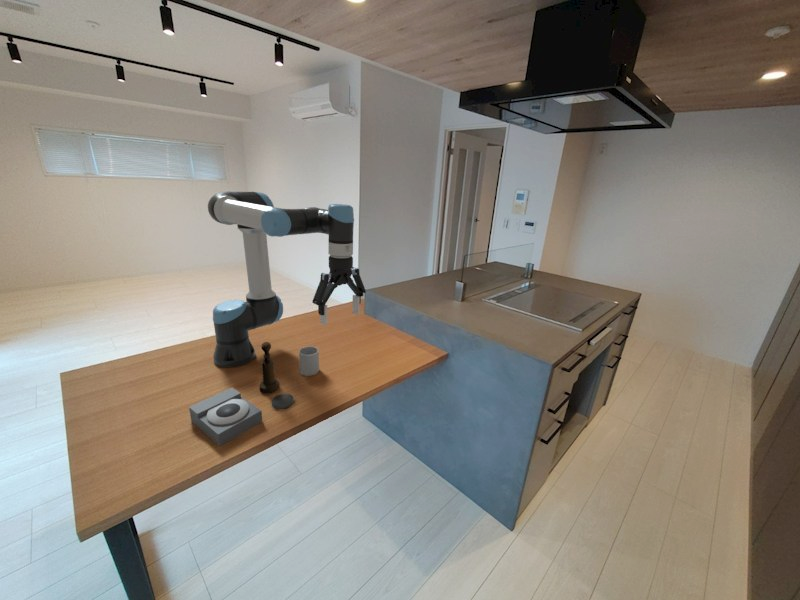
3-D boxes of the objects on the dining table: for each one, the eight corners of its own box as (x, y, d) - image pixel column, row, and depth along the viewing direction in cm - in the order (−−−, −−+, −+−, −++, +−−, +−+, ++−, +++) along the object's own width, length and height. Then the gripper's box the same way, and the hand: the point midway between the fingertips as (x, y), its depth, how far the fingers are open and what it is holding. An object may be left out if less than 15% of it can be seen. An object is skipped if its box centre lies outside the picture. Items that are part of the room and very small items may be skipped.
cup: (304, 378, 125) (303, 357, 122) (293, 366, 132) (292, 346, 129) (322, 372, 129) (321, 352, 126) (310, 361, 136) (310, 342, 133)
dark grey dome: (267, 403, 109) (266, 400, 109) (285, 393, 115) (284, 390, 115) (280, 412, 106) (280, 409, 105) (298, 401, 111) (298, 398, 111)
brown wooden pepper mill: (273, 381, 122) (269, 336, 116) (283, 388, 118) (280, 342, 112) (256, 389, 117) (251, 342, 111) (265, 396, 113) (261, 349, 107)
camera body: (191, 421, 100) (188, 406, 98) (233, 400, 110) (231, 387, 108) (219, 446, 91) (217, 430, 89) (262, 421, 101) (261, 407, 100)
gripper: (314, 263, 93) (316, 332, 100) (377, 253, 111) (374, 312, 118) (299, 258, 97) (301, 324, 104) (361, 249, 116) (360, 306, 123)
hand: (340, 318), depth 111 cm, fingers open, 13 cm apart
